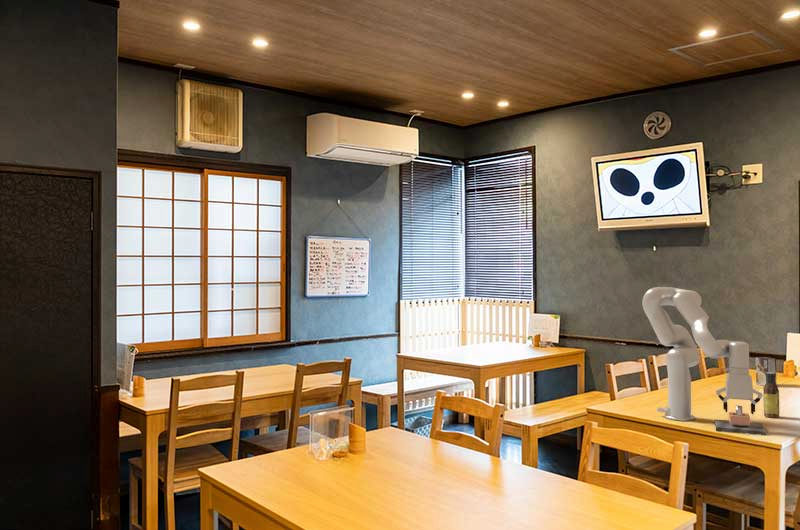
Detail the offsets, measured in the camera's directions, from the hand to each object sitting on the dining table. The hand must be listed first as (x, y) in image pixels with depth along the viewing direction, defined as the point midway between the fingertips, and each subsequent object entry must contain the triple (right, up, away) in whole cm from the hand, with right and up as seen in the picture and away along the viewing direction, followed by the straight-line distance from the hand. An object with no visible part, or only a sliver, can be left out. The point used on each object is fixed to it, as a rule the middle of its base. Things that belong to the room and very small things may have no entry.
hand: (739, 412), depth 273 cm
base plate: (0, -7, 0) cm, 7 cm away
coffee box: (+71, -9, +107) cm, 129 cm away
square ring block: (0, -4, 0) cm, 4 cm away
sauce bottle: (+27, -7, +23) cm, 36 cm away
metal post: (0, -5, 0) cm, 5 cm away
